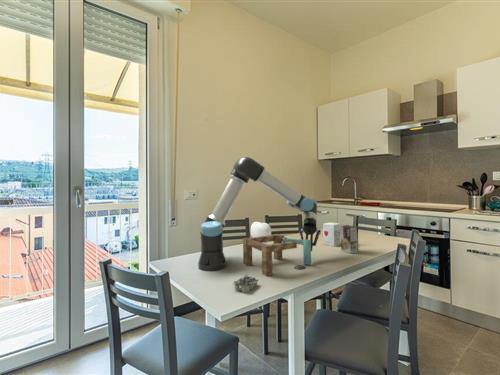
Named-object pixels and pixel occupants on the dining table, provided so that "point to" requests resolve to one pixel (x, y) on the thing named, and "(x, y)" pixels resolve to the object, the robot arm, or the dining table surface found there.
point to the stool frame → (267, 251)
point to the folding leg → (306, 248)
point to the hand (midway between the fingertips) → (308, 255)
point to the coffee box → (349, 239)
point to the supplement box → (332, 234)
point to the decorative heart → (259, 232)
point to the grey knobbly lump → (249, 282)
